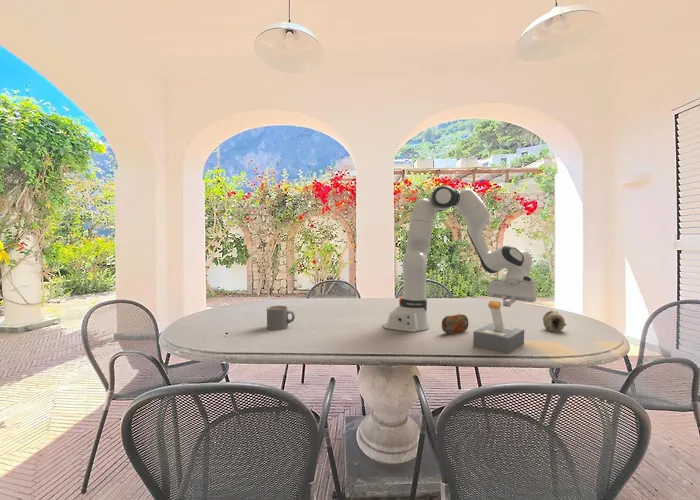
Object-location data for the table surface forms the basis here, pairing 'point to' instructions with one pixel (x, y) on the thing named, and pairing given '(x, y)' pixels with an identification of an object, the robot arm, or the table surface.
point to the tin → (455, 324)
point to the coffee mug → (278, 317)
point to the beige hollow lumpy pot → (553, 321)
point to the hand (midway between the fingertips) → (506, 305)
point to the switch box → (498, 338)
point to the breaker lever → (496, 314)
